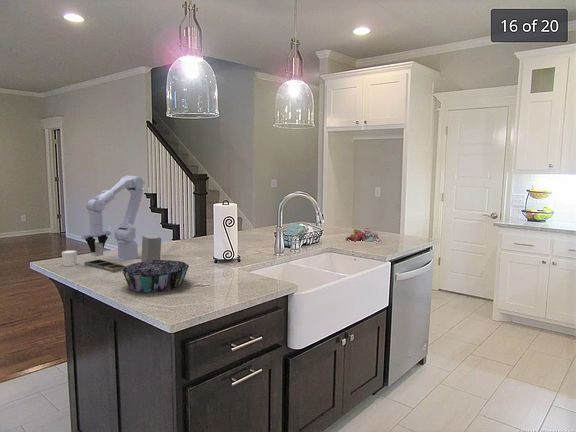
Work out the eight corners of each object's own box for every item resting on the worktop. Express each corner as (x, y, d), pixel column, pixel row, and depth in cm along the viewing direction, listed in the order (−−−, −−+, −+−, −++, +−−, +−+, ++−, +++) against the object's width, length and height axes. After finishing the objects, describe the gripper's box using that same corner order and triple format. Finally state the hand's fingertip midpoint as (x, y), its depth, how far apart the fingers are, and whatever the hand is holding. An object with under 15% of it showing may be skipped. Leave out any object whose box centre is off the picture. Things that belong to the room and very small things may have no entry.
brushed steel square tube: (98, 254, 211) (98, 242, 210) (103, 255, 209) (102, 243, 208) (90, 255, 208) (90, 243, 207) (95, 256, 206) (95, 244, 205)
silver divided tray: (99, 262, 215) (99, 259, 214) (128, 269, 202) (128, 266, 202) (84, 265, 208) (84, 261, 208) (113, 273, 195) (113, 269, 195)
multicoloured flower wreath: (340, 239, 303) (341, 226, 302) (370, 238, 310) (370, 225, 309) (356, 245, 279) (357, 231, 278) (388, 244, 286) (388, 231, 285)
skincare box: (140, 267, 207) (140, 235, 205) (154, 265, 212) (154, 234, 210) (147, 270, 201) (147, 237, 199) (161, 268, 205) (161, 236, 203)
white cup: (60, 267, 202) (59, 253, 201) (63, 264, 209) (63, 250, 208) (76, 267, 204) (75, 252, 203) (79, 263, 210) (78, 249, 210)
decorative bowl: (200, 290, 179) (201, 267, 179) (140, 300, 159) (142, 273, 158) (166, 278, 196) (167, 257, 195) (108, 285, 175) (109, 261, 175)
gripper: (104, 221, 215) (105, 247, 216) (77, 224, 203) (78, 252, 204) (113, 223, 211) (113, 249, 213) (85, 226, 199) (86, 254, 201)
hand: (97, 251), depth 208 cm, fingers closed on brushed steel square tube, 4 cm apart
